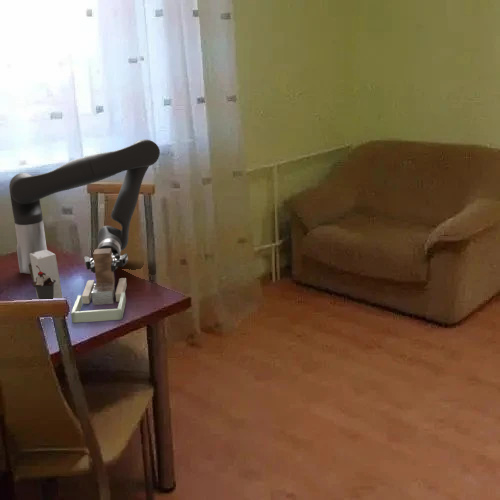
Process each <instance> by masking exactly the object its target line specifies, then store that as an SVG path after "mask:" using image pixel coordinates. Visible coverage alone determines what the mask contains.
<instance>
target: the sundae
mask: <svg viewBox="0 0 500 500" xmlns="http://www.w3.org/2000/svg"><path fill="white" fill-rule="evenodd" d="M36 267H38V266H37V265H36ZM38 268H39V267H38ZM39 270H40V268H39ZM55 282H56V280H53V279H51V278H50V277H49V276H48V275H47V274H46V273H43V272H41V271H40V272H39V273H38V277H37V278H36V281H35V282H34V281H33V282H31V285H32V287H34V288H35V292H36V291H37V294H36V296H37V295H38V298H39V299H53V296H54V283H55ZM38 298H37V299H38ZM39 299H38V300H39Z"/></svg>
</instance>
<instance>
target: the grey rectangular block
mask: <svg viewBox="0 0 500 500" xmlns="http://www.w3.org/2000/svg"><path fill="white" fill-rule="evenodd" d="M91 293H92V298H91V300H92V305H93V306H97V305H112V304H114V301H115V297H114V291H113V287H100V288H93V290H92V292H91Z"/></svg>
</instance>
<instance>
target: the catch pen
mask: <svg viewBox="0 0 500 500" xmlns="http://www.w3.org/2000/svg"><path fill="white" fill-rule="evenodd" d="M126 303H127V297H126V291H125V292H122V293H121V297H120V301H118V306H117V308H109V309H107V308H105V309H94V310H82V307H83V302H82V294H81V295H79V294H77V297H76V300H75V302H74V305H73V307H72V309H71V312H70V316H71V323H72V324H76V323H77V324H78V323H88V322H105V321H117V320H118V321H119V320H121V321H122V320H123V318H124V317H123V316H124V312H125V307H126V305H127V304H126Z"/></svg>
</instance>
